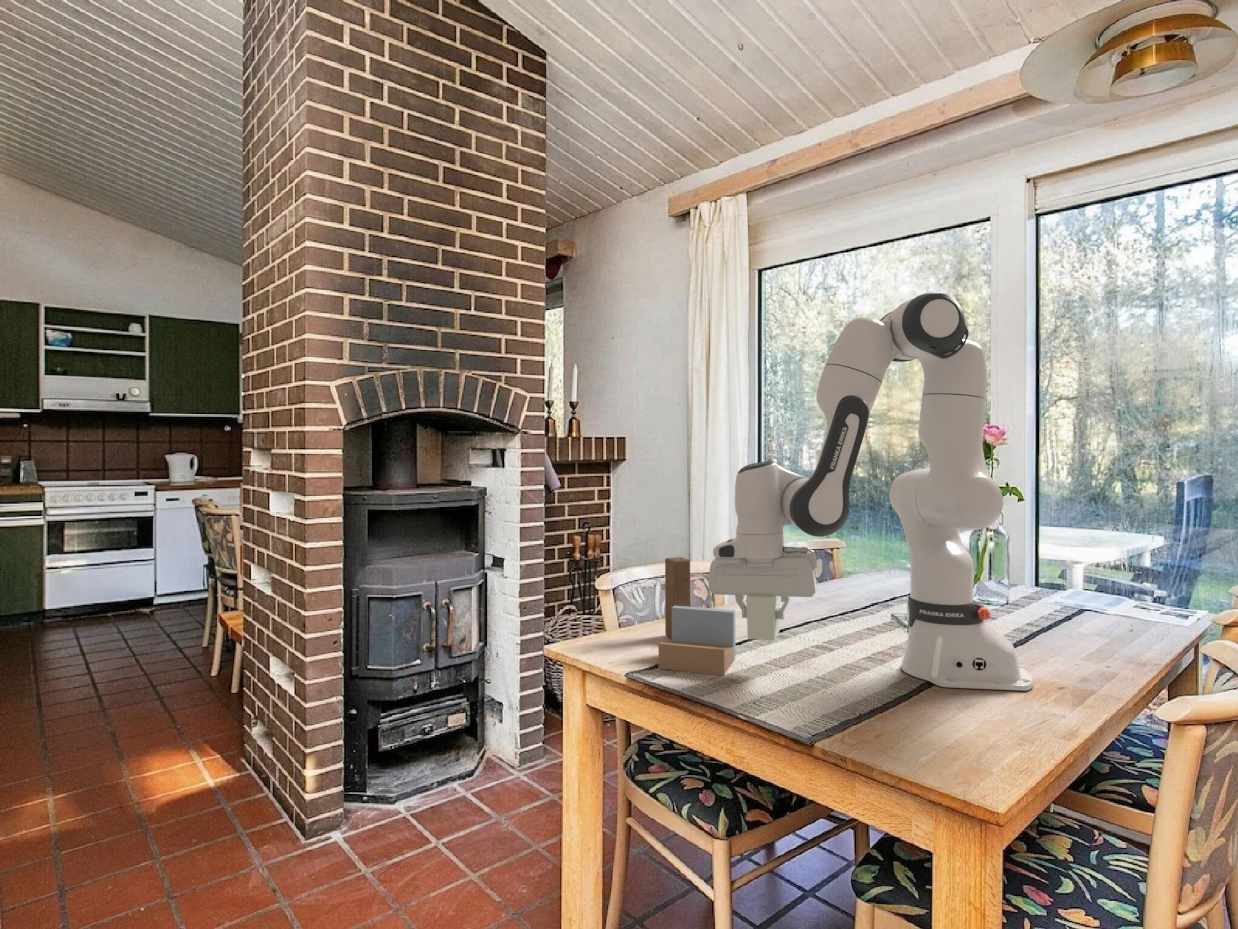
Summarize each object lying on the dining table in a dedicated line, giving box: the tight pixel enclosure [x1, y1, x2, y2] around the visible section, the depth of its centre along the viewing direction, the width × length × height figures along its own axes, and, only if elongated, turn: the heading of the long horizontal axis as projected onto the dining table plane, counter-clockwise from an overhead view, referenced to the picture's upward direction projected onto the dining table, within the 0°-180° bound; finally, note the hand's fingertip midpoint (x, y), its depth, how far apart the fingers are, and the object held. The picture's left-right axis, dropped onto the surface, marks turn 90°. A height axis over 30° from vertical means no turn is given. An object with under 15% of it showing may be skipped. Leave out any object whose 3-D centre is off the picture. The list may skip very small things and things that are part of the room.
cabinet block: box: [745, 595, 781, 641], centre depth 138 cm, size 5×7×9 cm
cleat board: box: [658, 606, 736, 677], centre depth 145 cm, size 13×12×10 cm
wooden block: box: [664, 556, 692, 640], centre depth 162 cm, size 9×4×18 cm, turn 21°
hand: (763, 618), depth 138 cm, fingers closed on cabinet block, 5 cm apart
